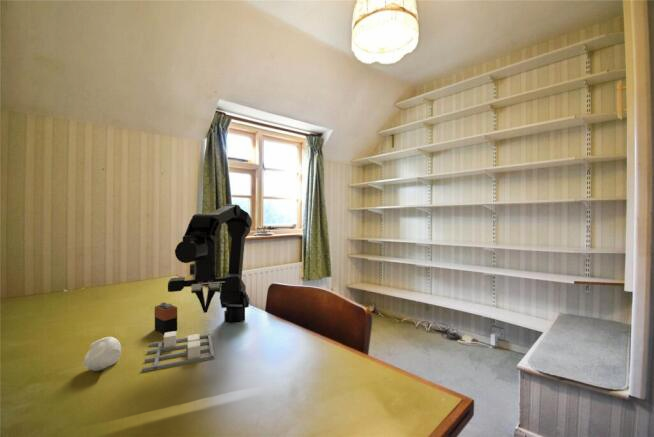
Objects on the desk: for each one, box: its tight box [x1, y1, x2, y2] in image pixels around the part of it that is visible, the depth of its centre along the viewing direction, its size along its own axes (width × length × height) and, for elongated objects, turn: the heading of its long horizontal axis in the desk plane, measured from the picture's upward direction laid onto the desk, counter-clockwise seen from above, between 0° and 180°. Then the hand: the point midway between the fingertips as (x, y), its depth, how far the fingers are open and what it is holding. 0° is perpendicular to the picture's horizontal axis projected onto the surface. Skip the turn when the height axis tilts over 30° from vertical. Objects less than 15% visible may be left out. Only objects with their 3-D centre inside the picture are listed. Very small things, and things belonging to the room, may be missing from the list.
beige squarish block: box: [187, 333, 201, 343], centre depth 84 cm, size 3×4×4 cm
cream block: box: [187, 340, 201, 359], centre depth 79 cm, size 3×4×4 cm
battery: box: [154, 302, 178, 335], centre depth 97 cm, size 4×7×10 cm, turn 55°
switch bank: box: [141, 333, 215, 373], centre depth 82 cm, size 18×16×2 cm
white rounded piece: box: [83, 336, 122, 372], centre depth 76 cm, size 8×8×8 cm
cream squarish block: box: [163, 331, 177, 348], centre depth 86 cm, size 3×4×4 cm
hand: (205, 312), depth 85 cm, fingers closed
